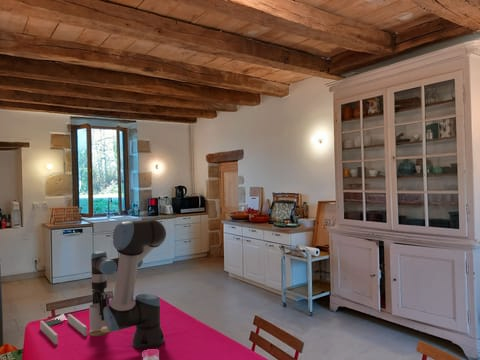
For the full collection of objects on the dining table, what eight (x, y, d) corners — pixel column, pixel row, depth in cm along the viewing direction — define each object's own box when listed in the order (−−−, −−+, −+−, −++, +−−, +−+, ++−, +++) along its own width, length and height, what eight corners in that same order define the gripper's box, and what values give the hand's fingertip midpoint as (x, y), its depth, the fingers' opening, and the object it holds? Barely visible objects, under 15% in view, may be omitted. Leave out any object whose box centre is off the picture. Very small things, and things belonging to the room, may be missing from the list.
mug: (95, 331, 193) (94, 308, 192) (86, 329, 196) (86, 306, 196) (111, 324, 202) (110, 302, 201) (102, 322, 205) (101, 300, 204)
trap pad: (62, 323, 211) (62, 321, 211) (47, 326, 206) (47, 325, 206) (58, 319, 217) (58, 318, 217) (43, 322, 212) (43, 321, 212)
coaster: (114, 331, 198) (114, 330, 198) (93, 338, 191) (93, 336, 191) (106, 325, 206) (106, 324, 206) (85, 331, 199) (85, 330, 199)
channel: (87, 335, 194) (86, 326, 194) (55, 344, 183) (55, 335, 183) (70, 321, 213) (69, 313, 213) (40, 329, 203) (40, 321, 203)
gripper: (113, 283, 194) (114, 327, 194) (99, 276, 208) (99, 317, 208) (99, 286, 189) (100, 331, 189) (85, 278, 203) (85, 321, 203)
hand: (99, 324), depth 198 cm, fingers closed on mug, 6 cm apart
